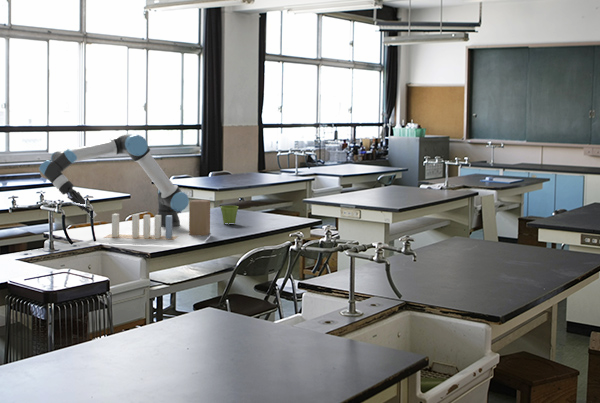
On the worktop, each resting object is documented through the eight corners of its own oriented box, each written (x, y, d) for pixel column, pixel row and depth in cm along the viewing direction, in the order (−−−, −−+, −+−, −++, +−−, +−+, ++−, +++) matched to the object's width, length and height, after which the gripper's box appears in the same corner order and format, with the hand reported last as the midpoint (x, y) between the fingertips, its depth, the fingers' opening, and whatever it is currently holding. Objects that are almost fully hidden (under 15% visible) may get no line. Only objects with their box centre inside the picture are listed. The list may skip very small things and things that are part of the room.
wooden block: (210, 234, 387) (210, 199, 385) (206, 237, 377) (206, 201, 375) (193, 233, 388) (193, 199, 386) (188, 236, 378) (188, 201, 376)
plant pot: (220, 222, 434) (221, 205, 433) (239, 223, 434) (239, 205, 433) (218, 225, 422) (218, 207, 421) (237, 226, 422) (237, 208, 421)
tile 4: (156, 236, 369) (156, 214, 368) (161, 236, 369) (161, 215, 368) (154, 238, 364) (154, 216, 363) (159, 238, 364) (159, 216, 363)
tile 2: (134, 236, 369) (134, 214, 368) (139, 236, 369) (139, 214, 368) (132, 237, 365) (132, 215, 363) (137, 237, 365) (137, 215, 363)
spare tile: (116, 237, 365) (116, 214, 363) (111, 236, 365) (111, 214, 364) (119, 235, 370) (119, 213, 368) (114, 235, 370) (114, 213, 368)
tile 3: (145, 236, 369) (145, 214, 368) (150, 236, 369) (150, 214, 368) (143, 237, 365) (143, 215, 363) (148, 237, 365) (148, 215, 363)
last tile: (167, 237, 369) (167, 215, 368) (172, 237, 369) (172, 215, 368) (165, 238, 364) (165, 216, 363) (170, 238, 364) (170, 216, 363)
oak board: (109, 235, 373) (109, 234, 373) (178, 238, 373) (178, 236, 373) (103, 239, 362) (103, 237, 361) (173, 241, 361) (173, 239, 361)
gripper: (63, 188, 371) (93, 219, 373) (54, 190, 358) (85, 223, 360) (72, 179, 371) (103, 210, 372) (63, 181, 358) (95, 213, 359)
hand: (94, 216), depth 366 cm, fingers closed
